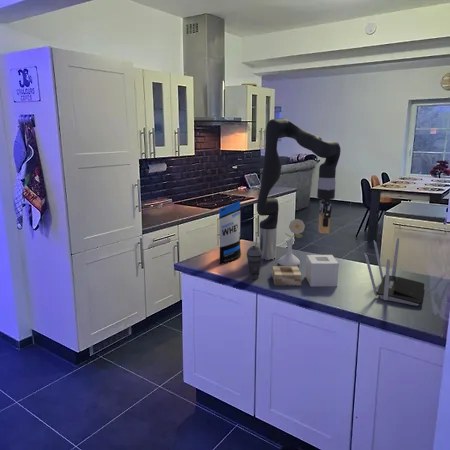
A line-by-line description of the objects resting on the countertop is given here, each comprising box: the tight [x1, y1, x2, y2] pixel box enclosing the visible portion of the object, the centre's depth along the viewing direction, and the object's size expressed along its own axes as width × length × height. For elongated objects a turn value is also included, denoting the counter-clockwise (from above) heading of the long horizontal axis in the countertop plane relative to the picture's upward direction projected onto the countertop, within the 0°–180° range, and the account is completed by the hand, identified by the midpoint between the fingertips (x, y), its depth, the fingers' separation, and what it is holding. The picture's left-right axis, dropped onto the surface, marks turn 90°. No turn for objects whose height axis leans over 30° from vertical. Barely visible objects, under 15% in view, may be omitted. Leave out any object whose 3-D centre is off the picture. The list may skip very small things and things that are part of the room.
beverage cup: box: [246, 237, 262, 280], centre depth 187 cm, size 7×7×20 cm
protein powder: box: [218, 200, 242, 265], centre depth 213 cm, size 10×24×30 cm, turn 152°
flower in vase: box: [277, 218, 306, 267], centre depth 202 cm, size 13×11×25 cm
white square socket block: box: [305, 254, 340, 287], centre depth 182 cm, size 12×12×11 cm
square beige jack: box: [271, 265, 303, 287], centre depth 184 cm, size 12×12×5 cm
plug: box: [317, 213, 331, 234], centre depth 177 cm, size 4×4×10 cm
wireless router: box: [364, 237, 425, 306], centre depth 169 cm, size 34×23×20 cm
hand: (324, 225), depth 177 cm, fingers closed on plug, 4 cm apart
